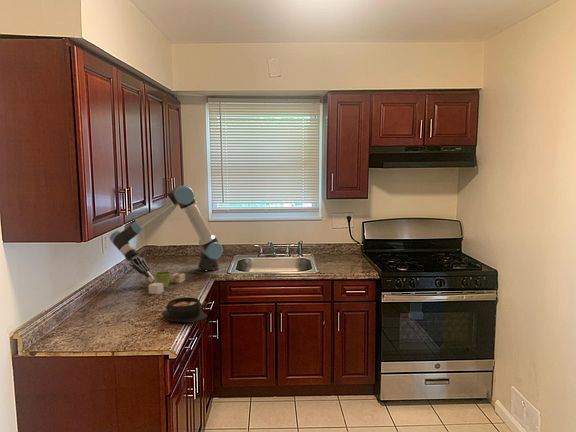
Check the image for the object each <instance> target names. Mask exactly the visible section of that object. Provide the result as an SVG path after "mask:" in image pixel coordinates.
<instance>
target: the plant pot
mask: <svg viewBox="0 0 576 432" xmlns="http://www.w3.org/2000/svg"><path fill="white" fill-rule="evenodd" d="M154 276H155V278H156V283H163V286H164V289H165V287H166V288H168V287H169V283H170V276H171V271H167V270H165V271H164V270H162V271H156V272H155V273H154Z"/></svg>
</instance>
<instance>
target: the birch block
mask: <svg viewBox="0 0 576 432" xmlns="http://www.w3.org/2000/svg"><path fill="white" fill-rule="evenodd" d="M184 280H185V281H186V273H179V272H175V273H173V274H171V283H172V282H175V283H174V284H182V283H184V282H185V281H184ZM183 281H184V282H183ZM181 282H182V283H181Z"/></svg>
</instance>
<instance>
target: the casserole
mask: <svg viewBox="0 0 576 432" xmlns="http://www.w3.org/2000/svg"><path fill="white" fill-rule="evenodd" d="M202 305H203V304H202V303H201V301H200V300H199V298H196V297H189V296H188V297H179V298H173V299H171V300H169V301H168V302H167V305H166V306H165V310H164V311H162V312H161V315H162V316H163V317H164V319H166V320H167V321H169V322H170V321H171V322H175V323H189V324H190V323H197V322H200V321H203V320H205V319H207V318H208V314H206V313H205V312H204V311H203V310H202V309H201V308H202Z"/></svg>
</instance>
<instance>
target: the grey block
mask: <svg viewBox="0 0 576 432" xmlns="http://www.w3.org/2000/svg"><path fill="white" fill-rule="evenodd" d="M164 290H165V288H164V286H163V283H157V282H151V283H150V284H148V294H151V295H159V294H161V293H163V292H164Z"/></svg>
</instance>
